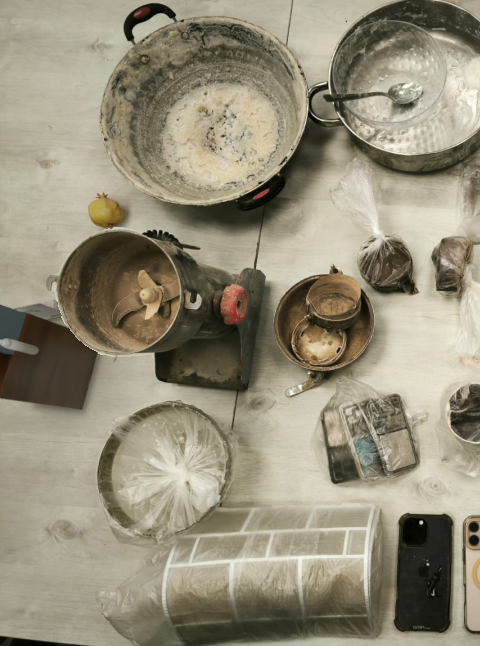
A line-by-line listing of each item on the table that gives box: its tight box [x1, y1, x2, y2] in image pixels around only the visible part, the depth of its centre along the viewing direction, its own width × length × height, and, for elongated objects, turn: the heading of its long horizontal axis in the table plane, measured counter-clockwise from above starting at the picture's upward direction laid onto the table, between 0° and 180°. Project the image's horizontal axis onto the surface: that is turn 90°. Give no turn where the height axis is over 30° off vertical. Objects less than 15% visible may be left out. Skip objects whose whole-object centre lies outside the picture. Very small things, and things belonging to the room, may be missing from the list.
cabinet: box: [0, 312, 99, 410], centre depth 105 cm, size 10×16×34 cm, turn 173°
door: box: [0, 304, 39, 355], centre depth 95 cm, size 6×8×9 cm
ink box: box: [14, 299, 63, 320], centre depth 119 cm, size 2×11×10 cm, turn 104°
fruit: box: [87, 191, 124, 230], centre depth 126 cm, size 7×7×10 cm
